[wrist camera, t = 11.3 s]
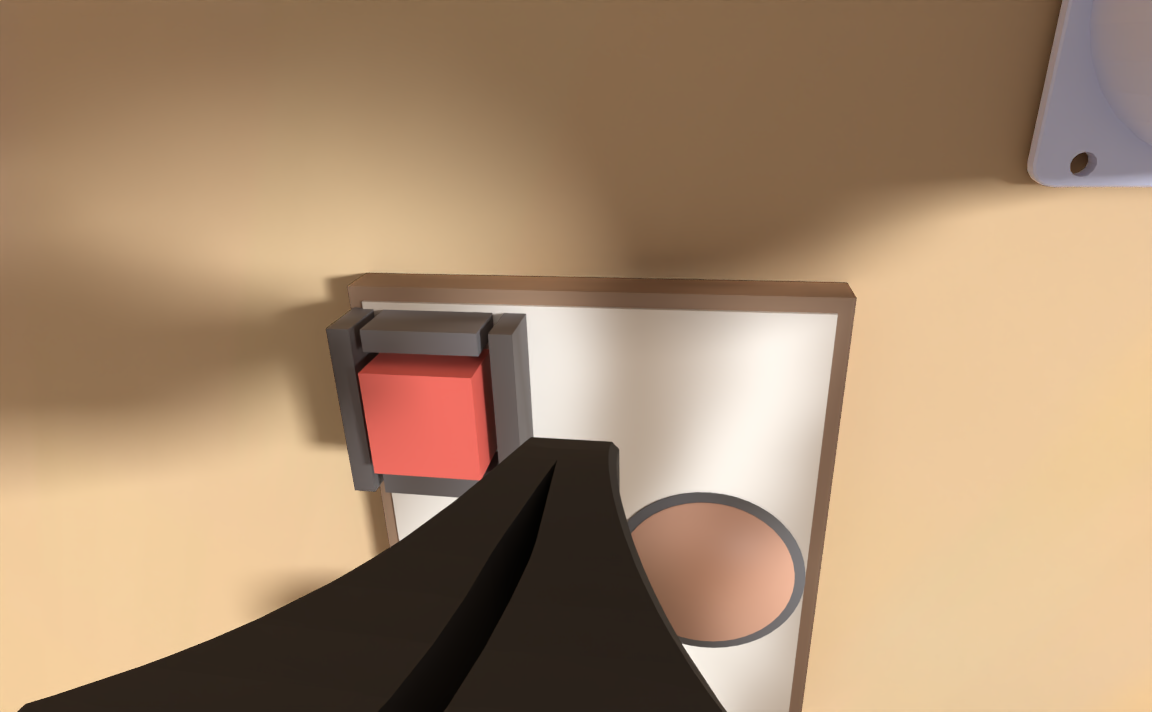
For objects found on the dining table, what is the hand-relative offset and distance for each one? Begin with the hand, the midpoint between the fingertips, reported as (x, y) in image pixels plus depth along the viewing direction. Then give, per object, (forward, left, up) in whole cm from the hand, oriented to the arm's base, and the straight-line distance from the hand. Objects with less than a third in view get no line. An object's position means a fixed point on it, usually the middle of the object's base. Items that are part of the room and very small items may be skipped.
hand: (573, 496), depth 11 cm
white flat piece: (+1, +7, -9) cm, 12 cm away
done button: (+5, +3, -8) cm, 10 cm away
